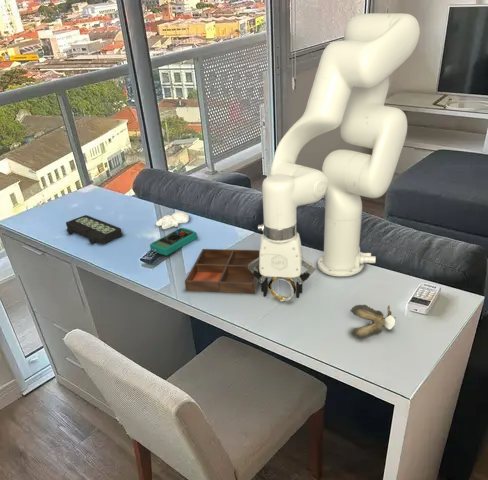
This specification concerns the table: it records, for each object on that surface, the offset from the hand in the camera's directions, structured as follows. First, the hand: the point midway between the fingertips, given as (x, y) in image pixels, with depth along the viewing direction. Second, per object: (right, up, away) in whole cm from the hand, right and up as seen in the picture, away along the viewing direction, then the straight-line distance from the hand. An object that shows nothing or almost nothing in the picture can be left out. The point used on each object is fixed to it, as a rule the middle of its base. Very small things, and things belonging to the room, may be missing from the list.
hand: (281, 294), depth 123 cm
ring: (0, -2, +1) cm, 2 cm away
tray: (-14, +6, +14) cm, 21 cm away
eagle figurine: (+20, -9, -12) cm, 25 cm away
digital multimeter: (-32, +17, +32) cm, 48 cm away
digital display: (-61, +23, +43) cm, 78 cm away
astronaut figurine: (-34, +28, +46) cm, 64 cm away
